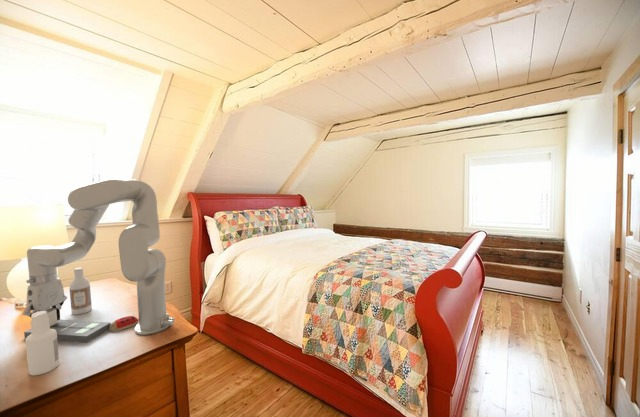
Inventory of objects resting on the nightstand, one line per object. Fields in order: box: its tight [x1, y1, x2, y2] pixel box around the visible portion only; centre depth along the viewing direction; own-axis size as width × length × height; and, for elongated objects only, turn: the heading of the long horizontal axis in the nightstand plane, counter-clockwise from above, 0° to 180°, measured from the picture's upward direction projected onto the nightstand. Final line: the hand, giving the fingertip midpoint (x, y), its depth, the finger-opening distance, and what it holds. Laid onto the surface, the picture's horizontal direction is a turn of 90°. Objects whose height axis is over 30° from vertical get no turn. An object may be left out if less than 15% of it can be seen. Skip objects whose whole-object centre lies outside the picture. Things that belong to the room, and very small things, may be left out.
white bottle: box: [24, 311, 60, 376], centre depth 85 cm, size 7×7×18 cm
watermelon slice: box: [108, 315, 139, 332], centre depth 111 cm, size 7×10×4 cm
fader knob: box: [37, 307, 57, 326], centre depth 106 cm, size 4×4×6 cm
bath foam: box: [69, 267, 93, 315], centre depth 123 cm, size 7×7×20 cm
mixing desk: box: [23, 319, 112, 344], centre depth 106 cm, size 26×10×3 cm, turn 84°
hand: (47, 323), depth 107 cm, fingers open, 5 cm apart
